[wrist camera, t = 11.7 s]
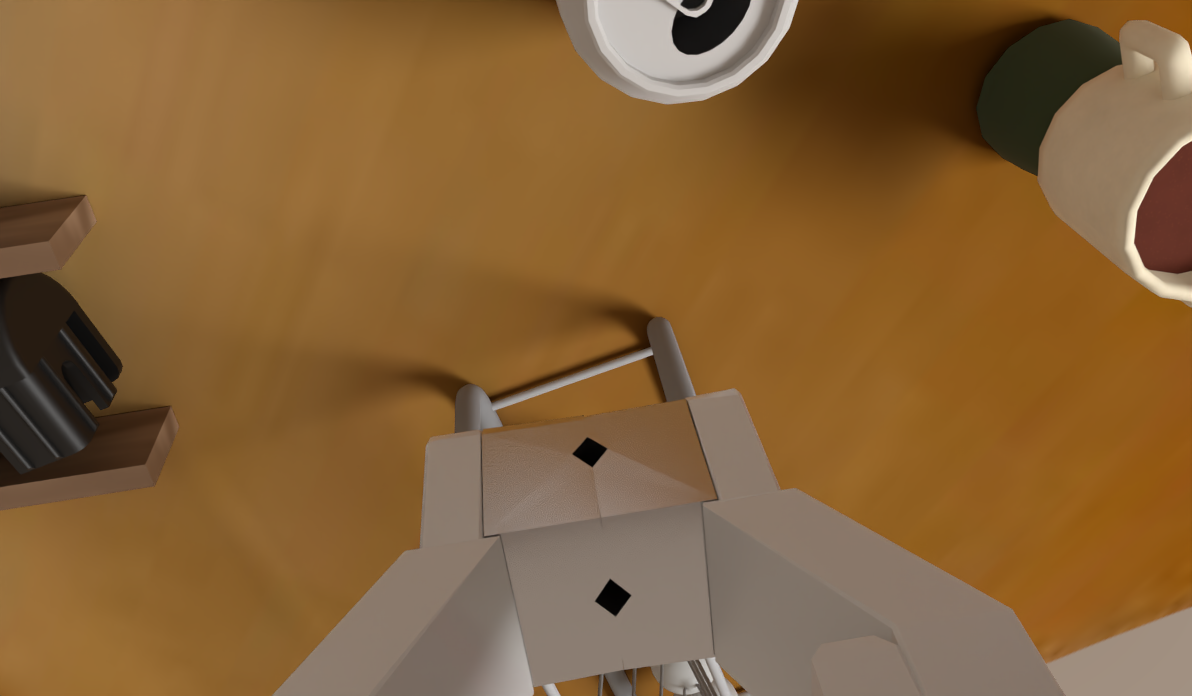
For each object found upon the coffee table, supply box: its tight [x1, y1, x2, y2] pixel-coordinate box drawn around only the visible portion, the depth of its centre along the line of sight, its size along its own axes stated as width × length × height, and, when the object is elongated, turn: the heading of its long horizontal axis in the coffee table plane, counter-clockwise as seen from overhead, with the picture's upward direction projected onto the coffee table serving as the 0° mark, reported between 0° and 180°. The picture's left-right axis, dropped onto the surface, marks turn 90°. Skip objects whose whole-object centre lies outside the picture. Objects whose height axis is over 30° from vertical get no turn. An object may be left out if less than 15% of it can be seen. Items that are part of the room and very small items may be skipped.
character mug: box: [976, 19, 1192, 307], centre depth 40 cm, size 11×7×13 cm, turn 22°
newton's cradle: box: [455, 317, 751, 696], centre depth 49 cm, size 30×10×18 cm, turn 19°
